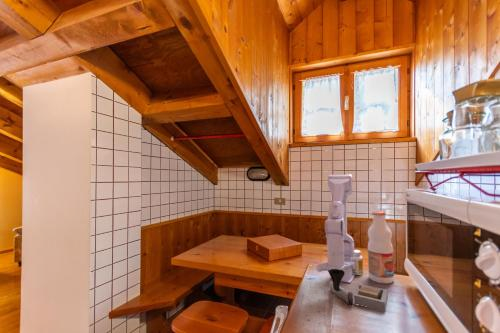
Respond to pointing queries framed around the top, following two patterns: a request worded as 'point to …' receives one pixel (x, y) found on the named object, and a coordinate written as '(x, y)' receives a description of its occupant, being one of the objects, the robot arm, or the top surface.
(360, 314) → the top surface
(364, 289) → the link block
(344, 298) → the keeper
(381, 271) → the fruit juice
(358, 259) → the supplement bottle
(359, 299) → the cradle
